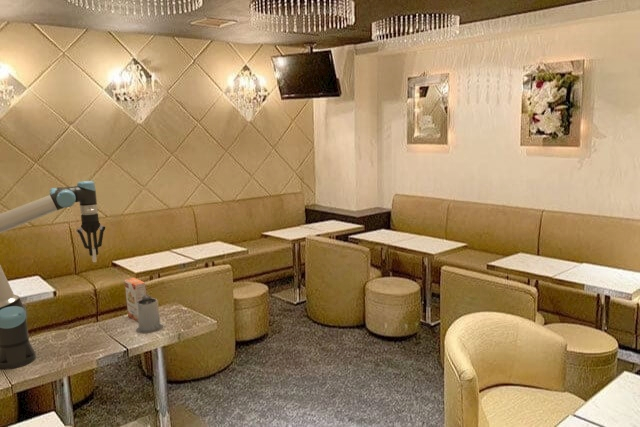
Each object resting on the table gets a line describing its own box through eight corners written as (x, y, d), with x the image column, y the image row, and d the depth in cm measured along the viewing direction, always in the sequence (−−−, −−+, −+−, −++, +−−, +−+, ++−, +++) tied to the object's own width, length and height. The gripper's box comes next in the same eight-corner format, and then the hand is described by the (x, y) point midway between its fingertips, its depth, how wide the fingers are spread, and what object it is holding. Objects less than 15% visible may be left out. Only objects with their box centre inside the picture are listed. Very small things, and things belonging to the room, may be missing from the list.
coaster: (140, 337, 254) (140, 335, 254) (132, 329, 265) (132, 327, 264) (166, 330, 261) (166, 329, 261) (158, 323, 272) (158, 321, 272)
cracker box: (127, 317, 282) (123, 279, 279) (138, 314, 286) (134, 277, 283) (138, 323, 272) (134, 284, 269) (149, 320, 276) (145, 282, 273)
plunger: (143, 323, 257) (141, 299, 255) (139, 319, 263) (137, 296, 261) (158, 319, 261) (155, 296, 259) (153, 315, 267) (151, 293, 265)
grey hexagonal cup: (142, 333, 256) (139, 306, 254) (136, 327, 264) (134, 301, 262) (162, 328, 261) (160, 301, 259) (156, 323, 269) (153, 296, 267)
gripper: (76, 216, 245) (81, 265, 248) (105, 212, 252) (110, 260, 255) (73, 214, 251) (78, 262, 254) (102, 211, 258) (107, 258, 262)
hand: (94, 261), depth 255 cm, fingers closed
